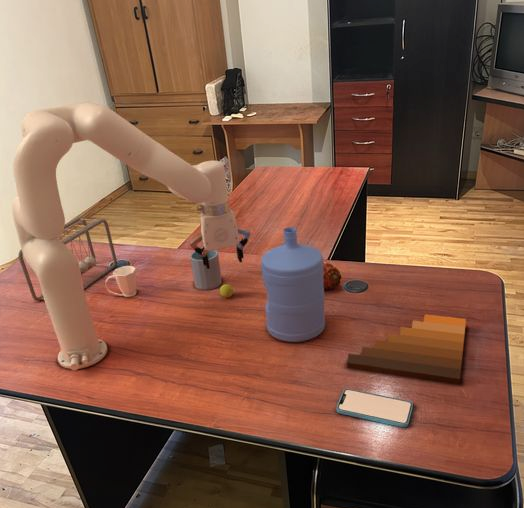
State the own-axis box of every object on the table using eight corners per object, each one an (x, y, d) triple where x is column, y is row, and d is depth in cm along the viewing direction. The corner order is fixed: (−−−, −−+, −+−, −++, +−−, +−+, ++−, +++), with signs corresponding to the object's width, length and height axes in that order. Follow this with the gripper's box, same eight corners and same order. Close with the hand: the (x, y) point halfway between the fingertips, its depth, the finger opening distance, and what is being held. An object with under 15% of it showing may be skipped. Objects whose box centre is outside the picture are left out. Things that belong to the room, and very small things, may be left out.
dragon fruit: (343, 296, 161) (306, 296, 167) (348, 270, 164) (311, 271, 169) (335, 283, 154) (296, 283, 160) (339, 256, 157) (301, 258, 162)
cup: (142, 296, 168) (137, 272, 164) (109, 303, 166) (103, 279, 162) (139, 286, 174) (134, 263, 170) (107, 293, 172) (101, 270, 168)
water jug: (337, 324, 146) (335, 225, 131) (298, 350, 137) (292, 248, 122) (293, 306, 155) (288, 213, 141) (254, 330, 146) (244, 233, 132)
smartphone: (407, 425, 110) (335, 409, 115) (407, 429, 111) (335, 413, 116) (413, 401, 116) (344, 387, 121) (413, 406, 116) (344, 391, 122)
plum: (235, 298, 162) (233, 286, 160) (222, 301, 162) (220, 289, 160) (232, 292, 166) (231, 280, 164) (219, 294, 165) (218, 283, 163)
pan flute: (347, 369, 128) (458, 386, 120) (346, 358, 127) (460, 374, 118) (367, 315, 148) (464, 326, 140) (367, 304, 146) (466, 315, 138)
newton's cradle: (59, 307, 166) (42, 254, 157) (33, 303, 170) (15, 251, 161) (118, 265, 189) (106, 216, 180) (94, 262, 193) (82, 214, 184)
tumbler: (224, 286, 169) (220, 257, 164) (196, 291, 168) (192, 262, 163) (219, 274, 176) (215, 246, 171) (192, 279, 175) (188, 251, 170)
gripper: (186, 218, 145) (196, 275, 154) (249, 206, 147) (255, 263, 156) (182, 208, 151) (192, 264, 160) (243, 198, 154) (249, 253, 163)
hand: (223, 263), depth 158 cm, fingers open, 9 cm apart
